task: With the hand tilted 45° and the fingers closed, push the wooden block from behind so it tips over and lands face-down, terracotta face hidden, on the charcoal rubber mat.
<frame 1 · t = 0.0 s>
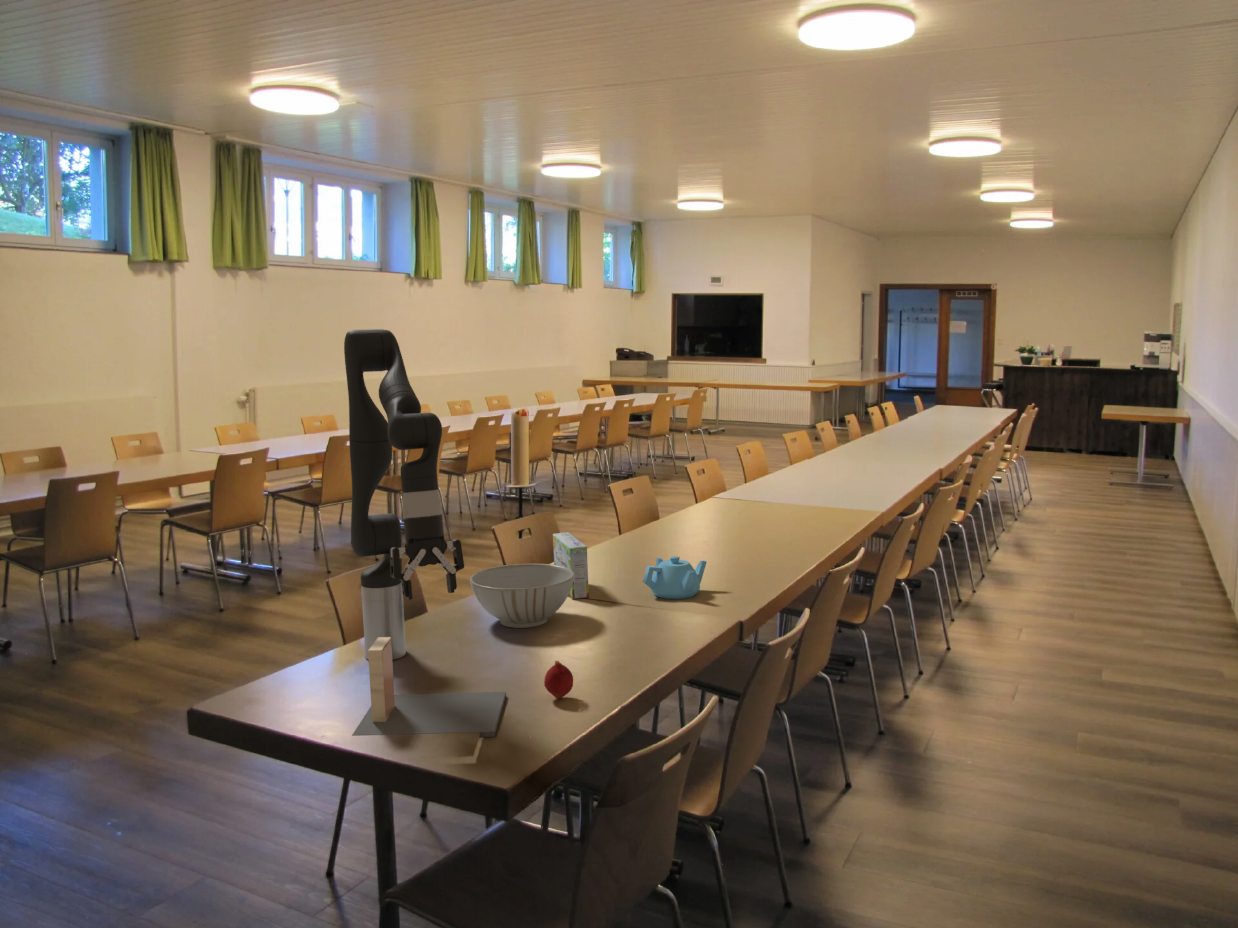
hand: (430, 595, 188), 22 cm above the table, tool pointing down, fingers open, 8 cm apart
wooden block: (383, 713, 185), point 1 cm above the table, touching mat
teapot: (676, 594, 270), on the table
onion: (559, 699, 193), on the table
mat: (433, 717, 185), on the table
snack box: (571, 590, 277), on the table
decorative bowl: (524, 621, 247), on the table
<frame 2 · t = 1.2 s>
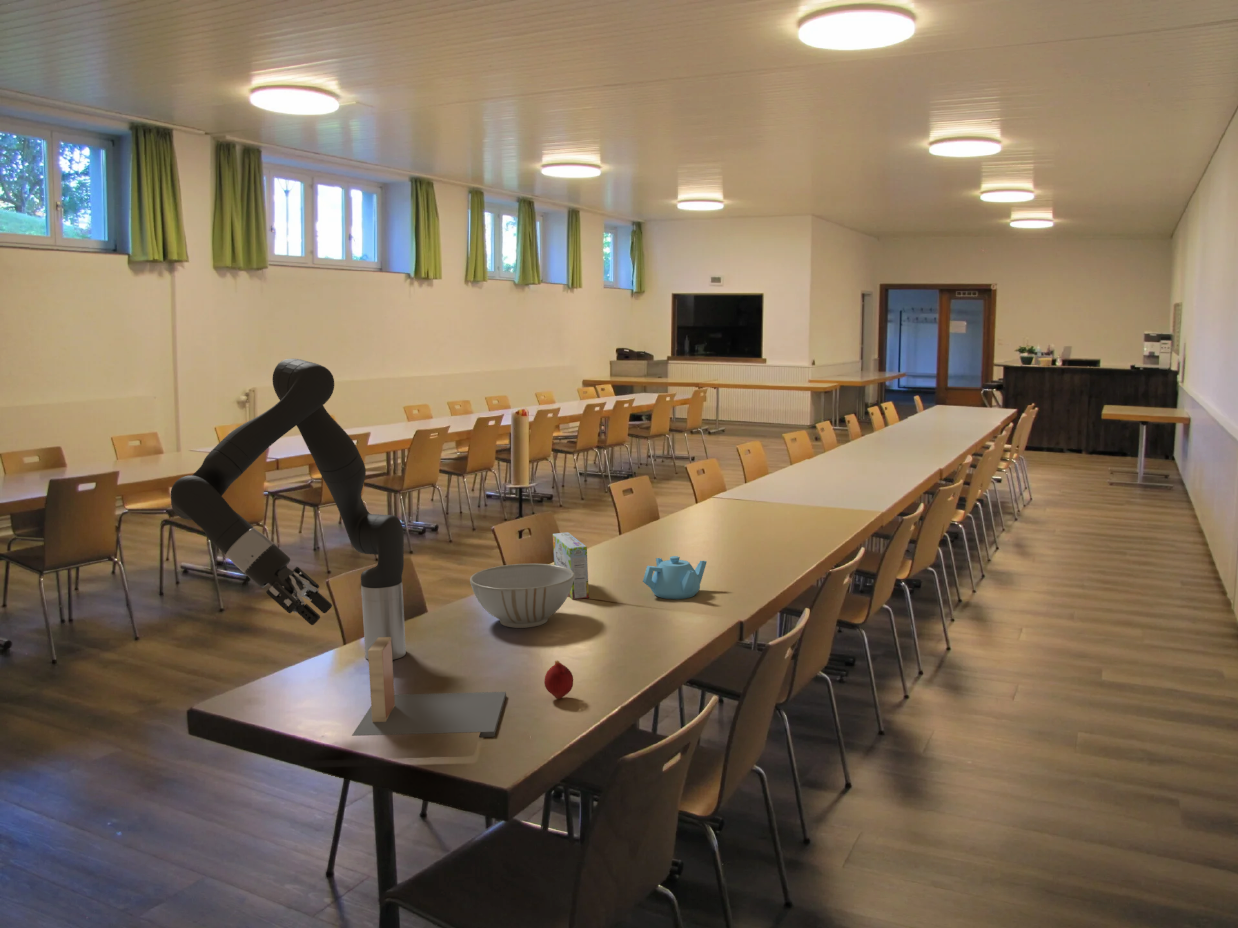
hand: (323, 615, 182), 21 cm above the table, tool tilted 45°, fingers open, 7 cm apart
nothing on the table moved.
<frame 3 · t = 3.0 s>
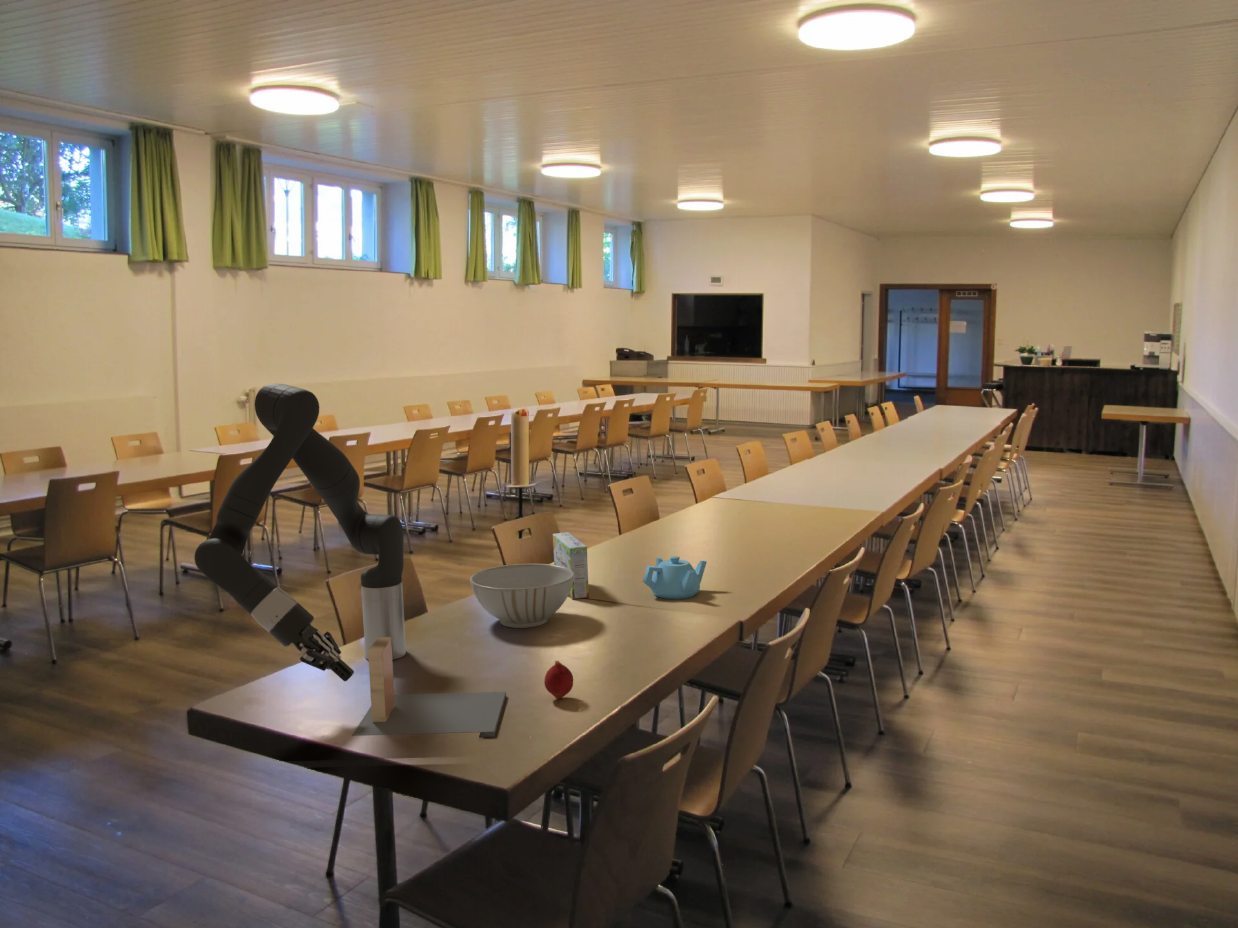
hand: (350, 676, 183), 9 cm above the table, tool tilted 45°, fingers closed
nothing on the table moved.
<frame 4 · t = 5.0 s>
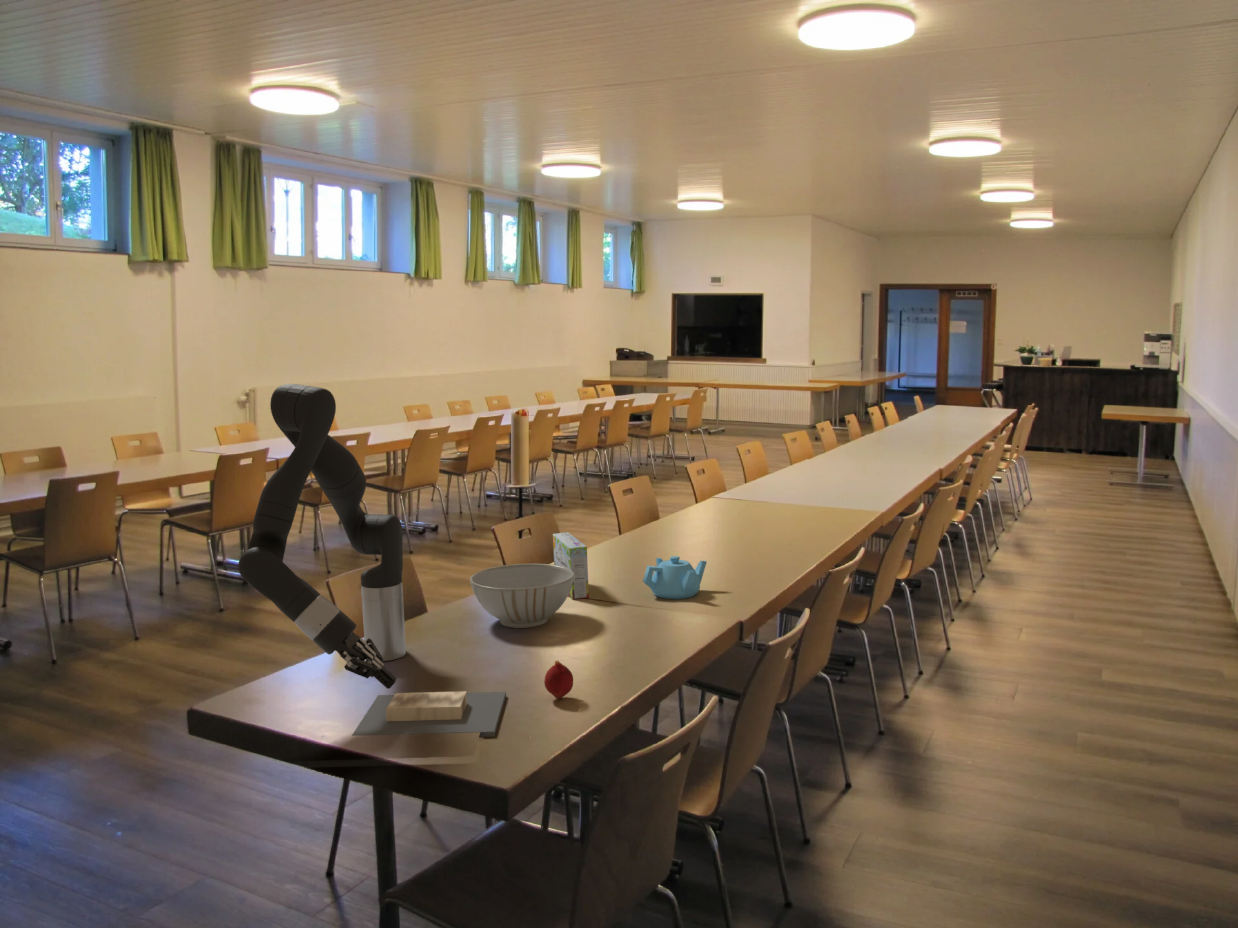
hand: (393, 684, 184), 7 cm above the table, tool tilted 45°, fingers closed
wooden block: (391, 706, 184), point 2 cm above the table, tilted 90°, touching mat
everything else where it was.
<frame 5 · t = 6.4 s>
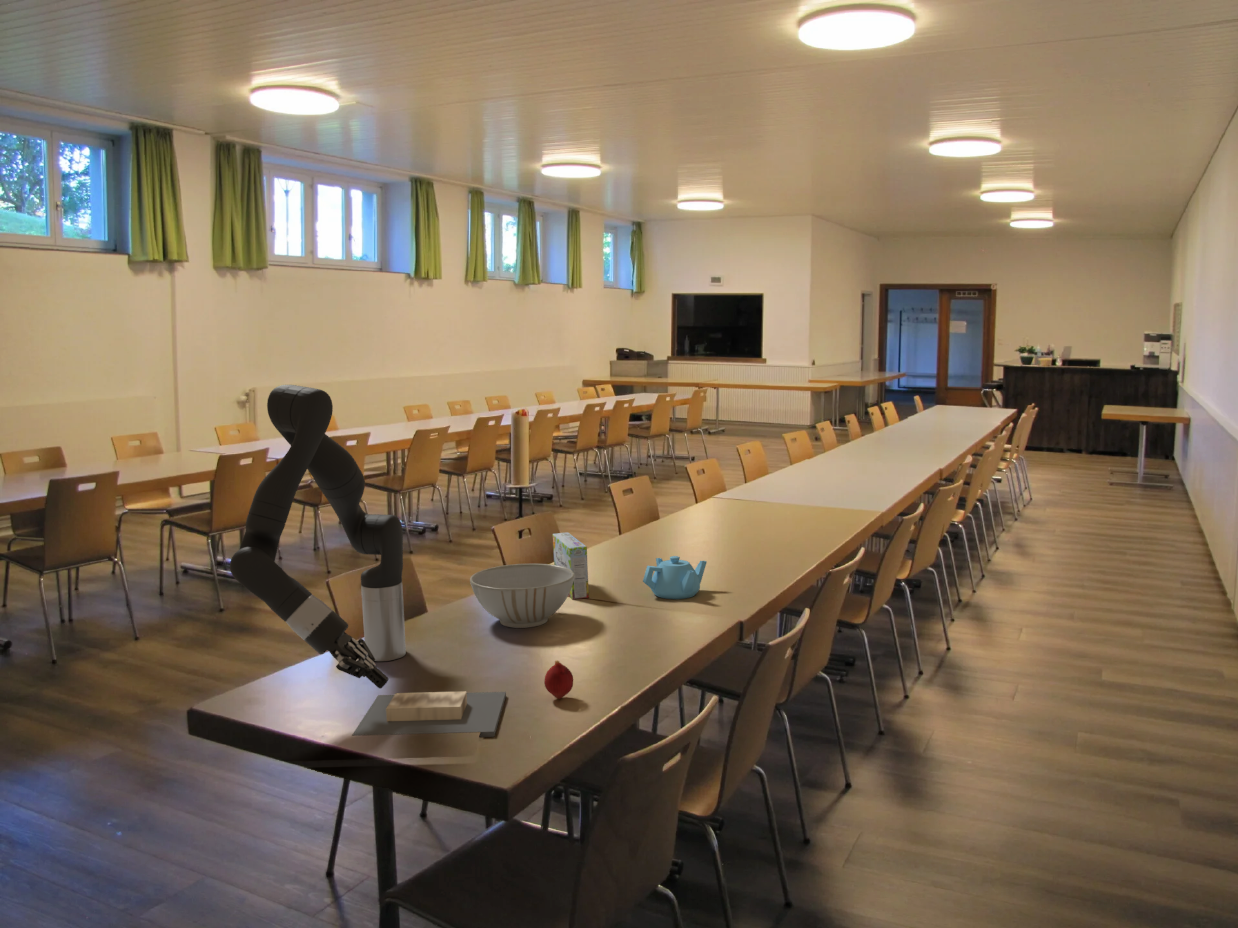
hand: (384, 683, 184), 7 cm above the table, tool tilted 45°, fingers closed
nothing on the table moved.
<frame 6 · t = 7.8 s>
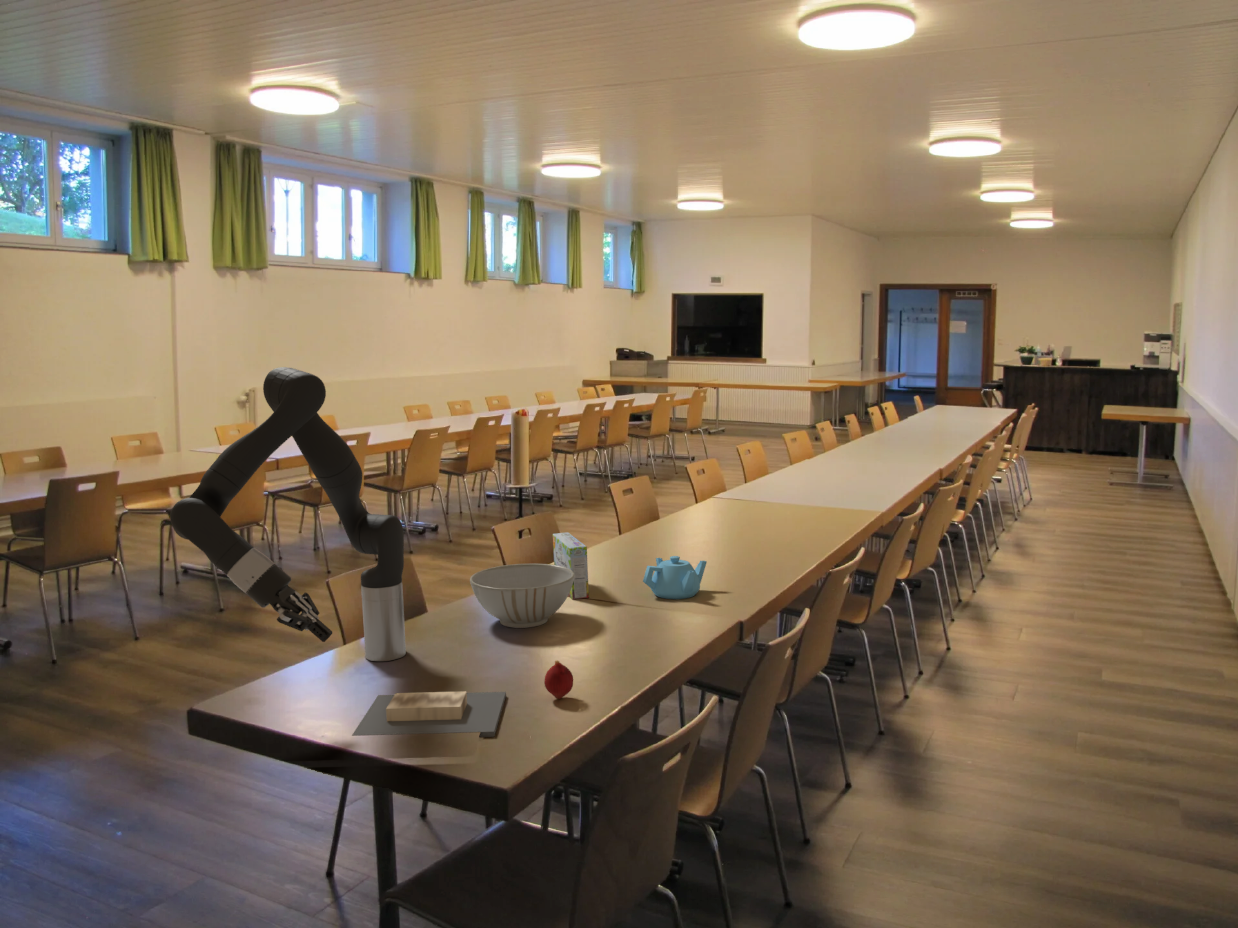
hand: (328, 637, 183), 16 cm above the table, tool tilted 45°, fingers closed
nothing on the table moved.
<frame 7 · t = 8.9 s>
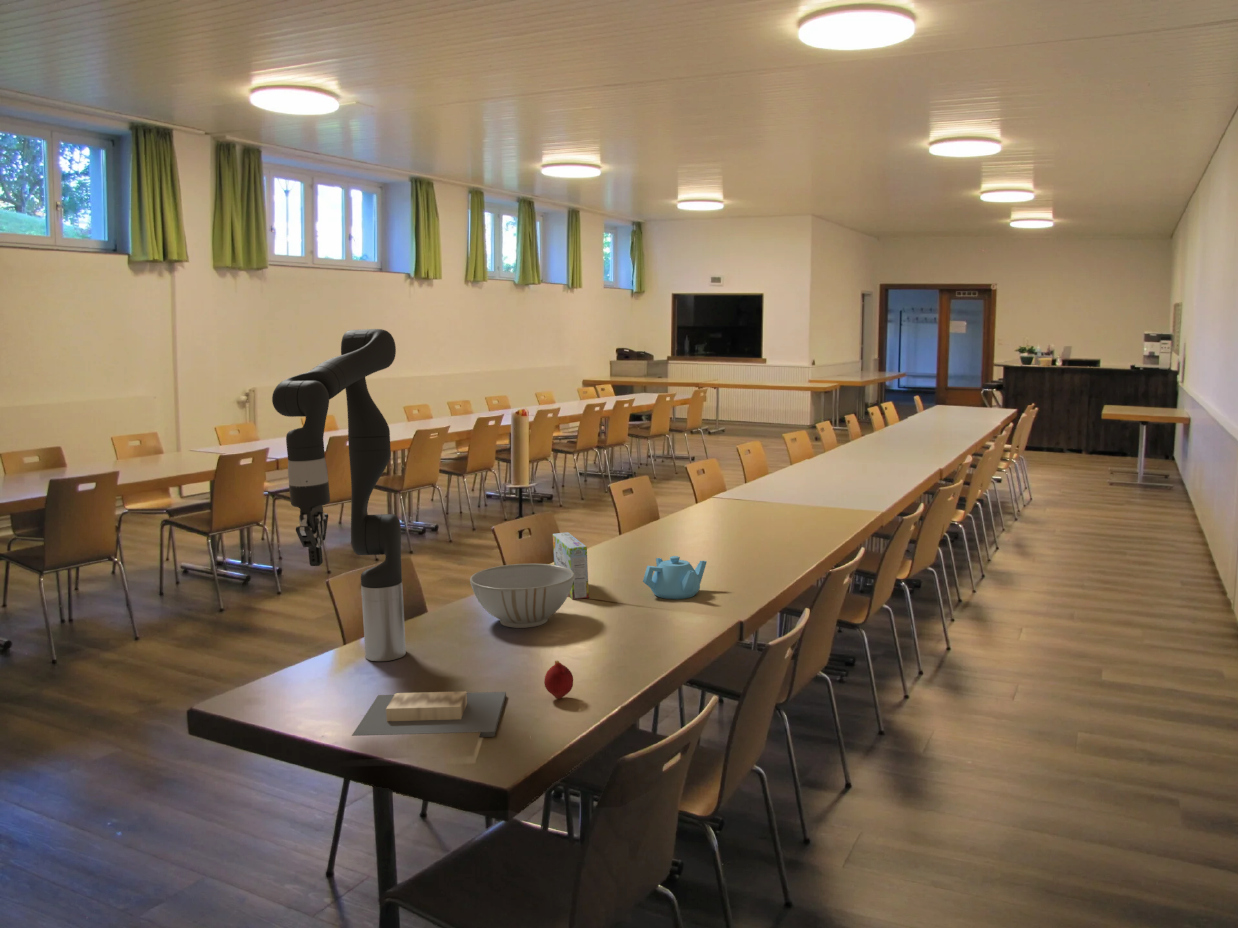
hand: (316, 564, 193), 28 cm above the table, tool pointing down, fingers closed
nothing on the table moved.
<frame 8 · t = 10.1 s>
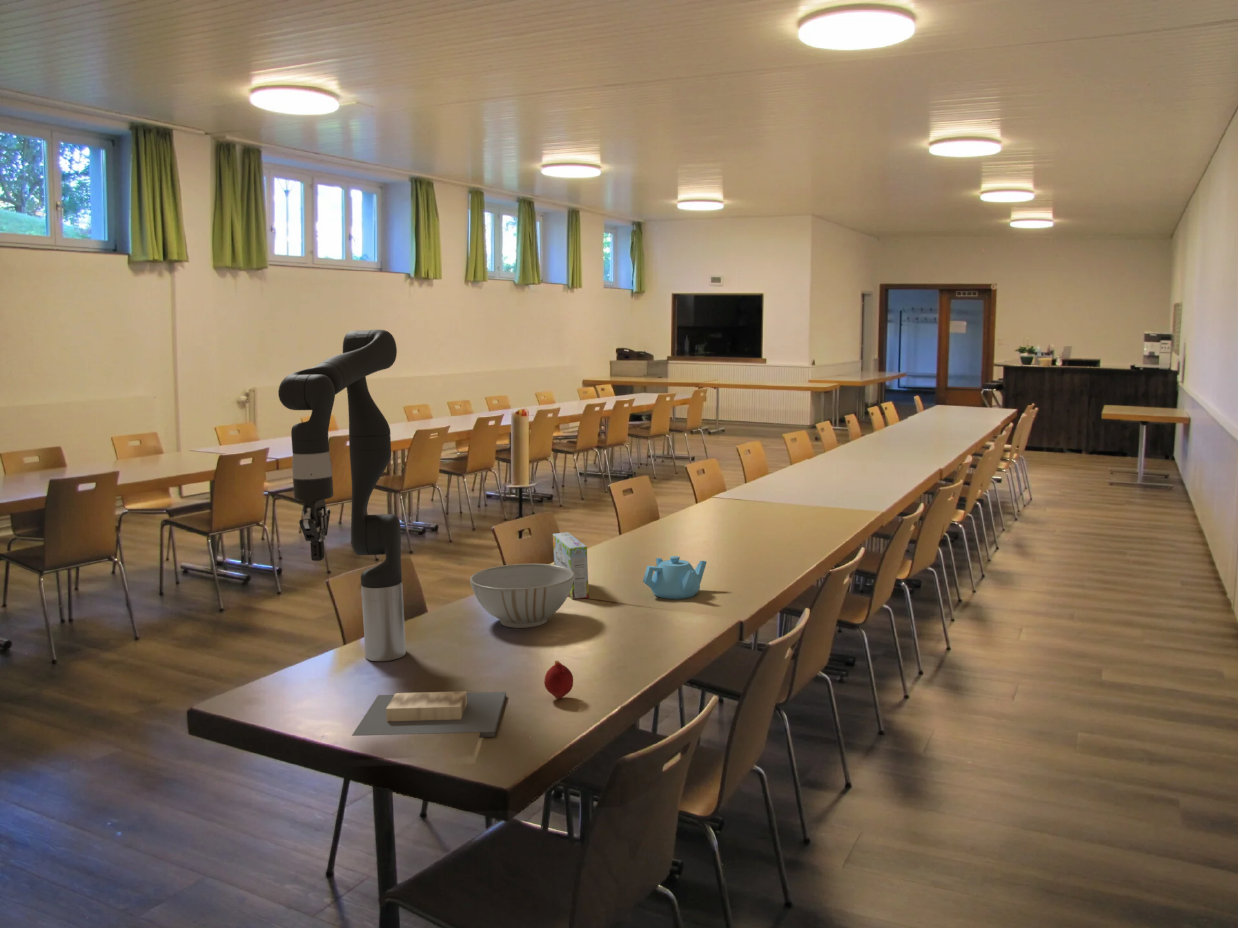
hand: (318, 559, 193), 29 cm above the table, tool pointing down, fingers closed
nothing on the table moved.
at the end: wooden block tilted 90°; wooden block inside the target area (2.9 cm from its centre), point 2.3 cm above the table; wooden block touching mat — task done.
